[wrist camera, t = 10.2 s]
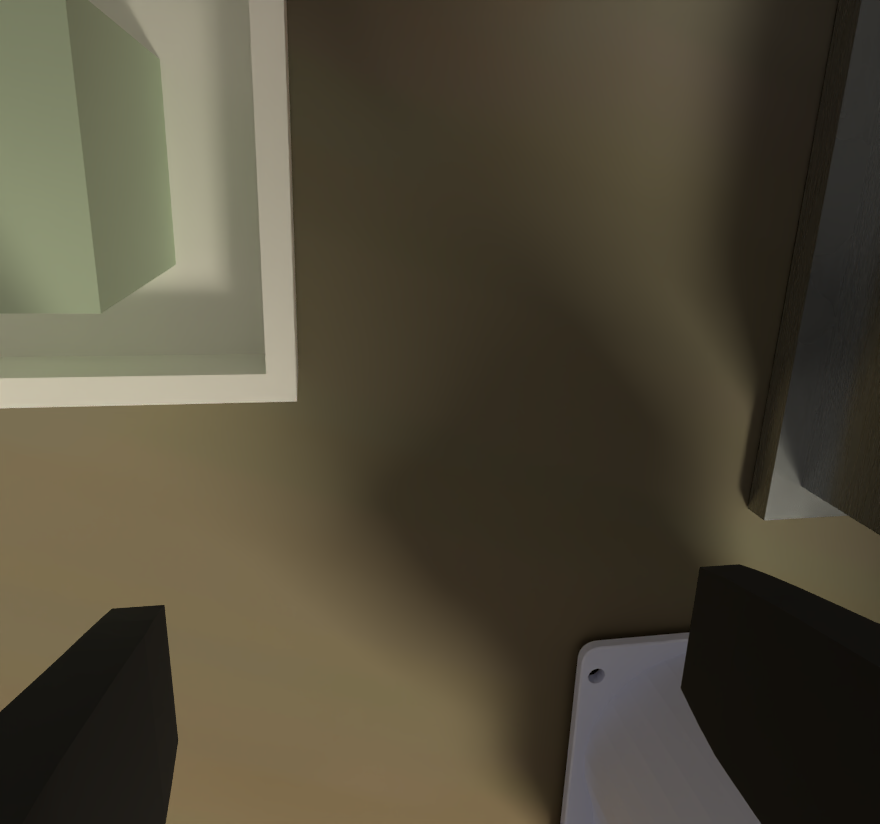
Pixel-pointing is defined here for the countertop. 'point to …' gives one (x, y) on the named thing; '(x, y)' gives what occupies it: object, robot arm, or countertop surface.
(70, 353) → the off-white tray
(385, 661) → the countertop surface
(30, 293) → the sage green block
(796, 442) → the grey unit
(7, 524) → the countertop surface
